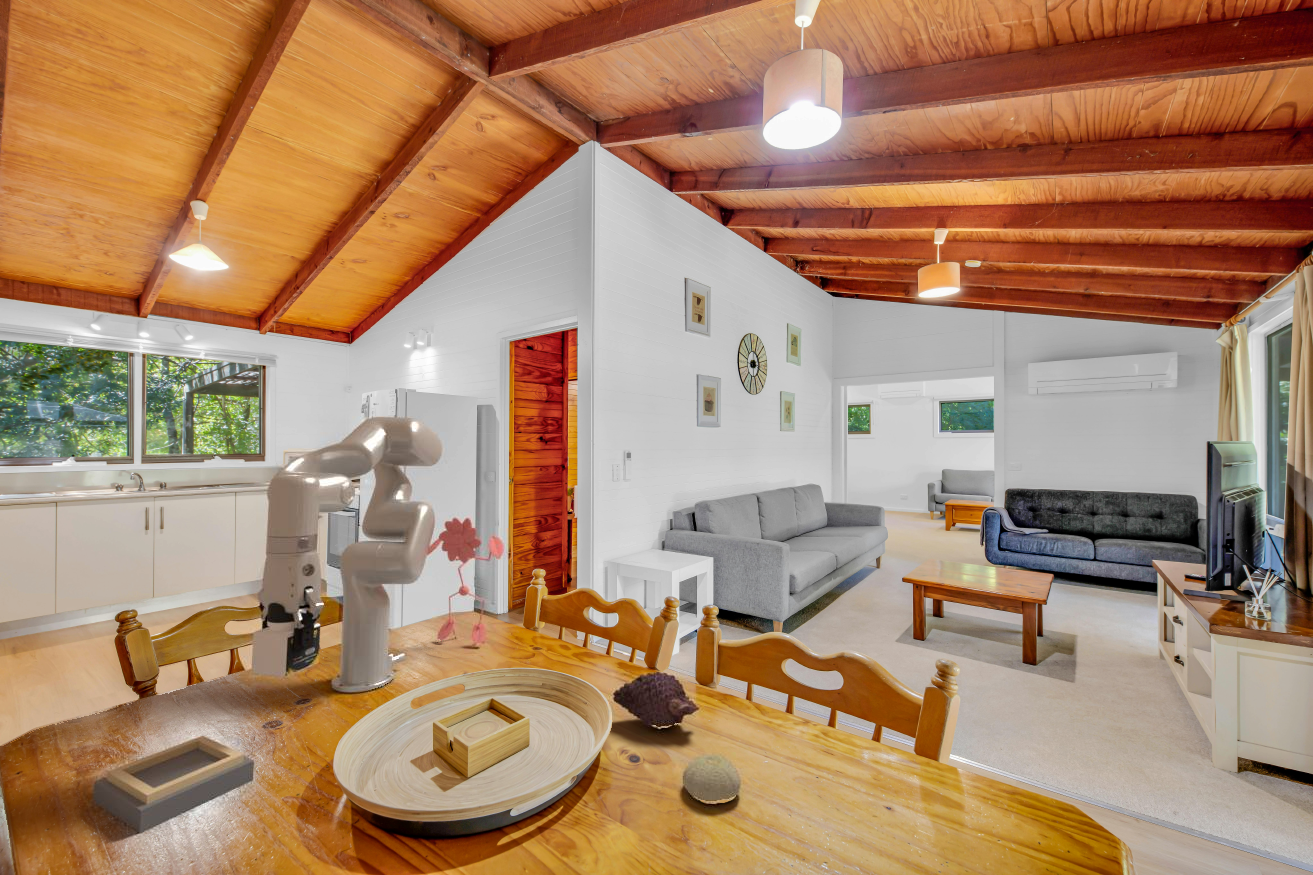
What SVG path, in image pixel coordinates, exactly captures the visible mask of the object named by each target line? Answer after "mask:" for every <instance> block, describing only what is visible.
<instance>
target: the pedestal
mask: <svg viewBox="0 0 1313 875" xmlns="http://www.w3.org/2000/svg"><path fill="white" fill-rule="evenodd" d="M254 764H255V760H253V759H252V758H249V757H247V756H245V755H244V753H242V752H239V751H238V750H235V749H233V748H231V747H228V746H226V745H224V744H222V743H220V742H218V741H215V740H213V739H211V738H208V737H207V736H205V735H201V736H199V737H196V738H193V739H190V740H187V741H185V742H183V743H180V744H177V745H175V746H172V747H169V748H166V749H164V750H161V751H158V752H155V753H153V754H151V755H148V756H145V757H142V758H140V759H137V760H135V761H132V762H129V763H126V764H124V765H121V766H119V767H116V768H113V769H110V770H108V771H106V776H105V777H103V778H100V779H98V780H95V781H94V782H93V796H92V797H93V799H92V800H93V801H92V803H93V804H95V805H96V806H97V807H99V808H100V809H103V810H104V811H106V813H108V814H110V815H111V816H113V817H114V816H115V817H114V818H116V819H117V818H118V819H117V820H119V819H120V820H121V821H120V820H119V821H120V822H122V823H124V824H125V823H126V824H125V825H127V826H128V825H129V826H128V827H130V828H131V829H133V830H134V831H136V832H137V833H139V834H141V833H143V832H145V831H147V830H150V829H152V828H154V827H156V826H158V825H160V824H162V823H165V822H166V821H169V820H171V819H173V818H175V817H178V816H179V814H180V815H182V814H184V813H186V812H187V811H188V812H189V811H190V810H192V809H194V808H196V807H199V806H200V805H202V804H205V803H207V802H209V801H212V800H214V799H215V798H218V797H220V796H222V795H223V794H226V793H228V792H231V791H233V790H235V789H237V788H240V787H241V786H243V785H245V784H247V783H249V782H251V781H253V780H254V769H255V767H254ZM181 813H182V814H181ZM177 815H178V816H177ZM170 818H171V819H170Z"/></svg>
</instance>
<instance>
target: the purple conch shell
mask: <svg viewBox="0 0 1313 875" xmlns="http://www.w3.org/2000/svg"><path fill="white" fill-rule="evenodd" d="M612 695H613V698H612V700H613V702H615V703H616V704H618V705H619V706H621V707H622V708H624V709H626V710H627V711H628V713H629V714H631V715H633V716H634V717H636V719H638V720H641V721H642V722H643V725H645V724H648V725H647V726H649V725H650V726H649V727H652V725H656V726H657V727H661V726H669V725H674V724H675V723H681V724H682V722H683V719H684V717H685V716H690V715H693V714H694V713H695V712H697V711H700V707H699V706H697V705H696V704H695V703H694V701H693V700H690V697H689V696H686V695H687V693H686V692H685V689H684V687H683V684H682V683H680V680H678V679H676V677H675V675H673V674H670V675H669V674H668V673H667V672H663V673H661V672H660V671H656V672H654V673H653V672H648V673H646V675H644V674H640V675H639V677H636V678H635V679H633V680H632V681H631V682H629V683H628V682H625V683H624V684H623V686H620V688H618V689H616V690H615V691H614V692H613V693H612Z"/></svg>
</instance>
